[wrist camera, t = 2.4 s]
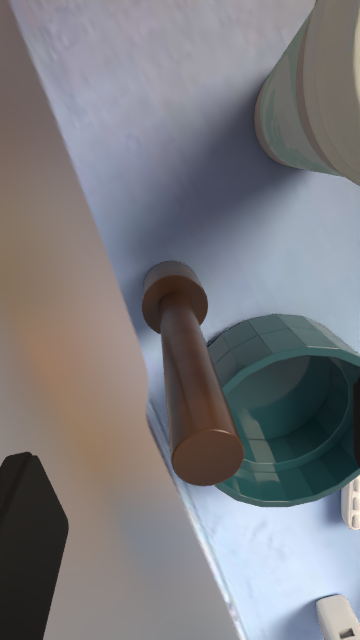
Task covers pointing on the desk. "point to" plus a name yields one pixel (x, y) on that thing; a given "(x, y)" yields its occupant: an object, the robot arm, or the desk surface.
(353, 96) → the coffee cup
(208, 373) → the muddler
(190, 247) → the desk surface
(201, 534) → the desk surface
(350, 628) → the power adapter
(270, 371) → the bowl
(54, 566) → the robot arm
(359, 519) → the calculator
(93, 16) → the desk surface
